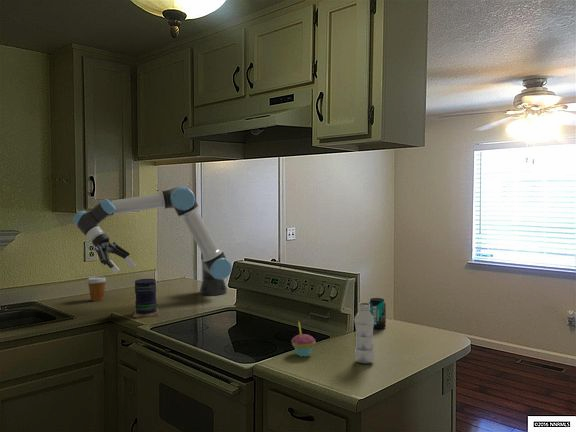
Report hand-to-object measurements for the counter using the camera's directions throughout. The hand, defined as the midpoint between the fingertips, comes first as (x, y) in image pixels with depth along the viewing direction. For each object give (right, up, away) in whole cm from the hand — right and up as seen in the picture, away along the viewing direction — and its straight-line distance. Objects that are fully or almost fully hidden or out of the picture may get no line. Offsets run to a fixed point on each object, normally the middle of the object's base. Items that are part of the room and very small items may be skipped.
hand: (126, 269), depth 238 cm
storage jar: (+10, -20, -2) cm, 22 cm away
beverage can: (+115, -21, -28) cm, 120 cm away
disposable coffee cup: (-25, -20, +30) cm, 44 cm away
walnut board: (+10, -21, -2) cm, 23 cm away
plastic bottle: (+103, -24, -70) cm, 127 cm away
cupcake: (+83, -24, -61) cm, 105 cm away
